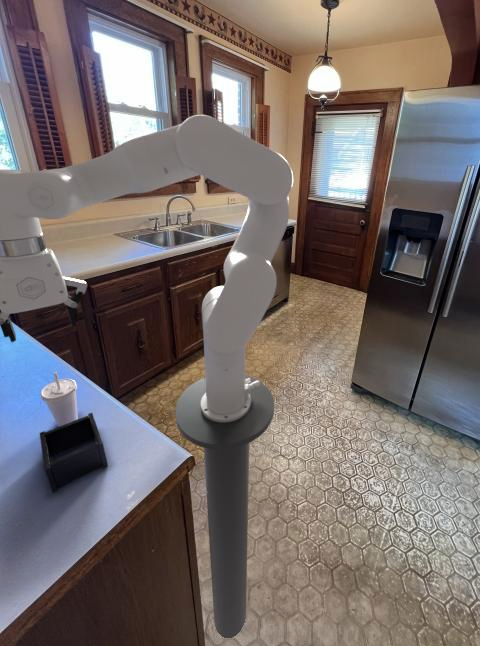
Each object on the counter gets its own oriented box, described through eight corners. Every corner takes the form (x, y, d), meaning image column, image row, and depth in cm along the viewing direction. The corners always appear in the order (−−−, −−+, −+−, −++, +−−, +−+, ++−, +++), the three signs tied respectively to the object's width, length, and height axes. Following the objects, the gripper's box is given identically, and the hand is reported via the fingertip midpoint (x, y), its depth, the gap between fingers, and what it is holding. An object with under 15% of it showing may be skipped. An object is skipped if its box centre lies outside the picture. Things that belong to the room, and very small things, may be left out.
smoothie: (57, 438, 66) (41, 386, 60) (46, 423, 69) (29, 372, 64) (89, 420, 71) (77, 370, 65) (77, 407, 74) (64, 358, 69)
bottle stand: (97, 433, 68) (92, 412, 65) (108, 465, 61) (102, 443, 59) (46, 454, 62) (39, 432, 60) (52, 493, 56) (44, 470, 53)
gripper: (-54, 259, 46) (-15, 355, 53) (80, 244, 56) (98, 326, 63) (-49, 247, 52) (-14, 336, 58) (73, 235, 62) (91, 312, 69)
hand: (45, 330), depth 61 cm, fingers open, 9 cm apart
